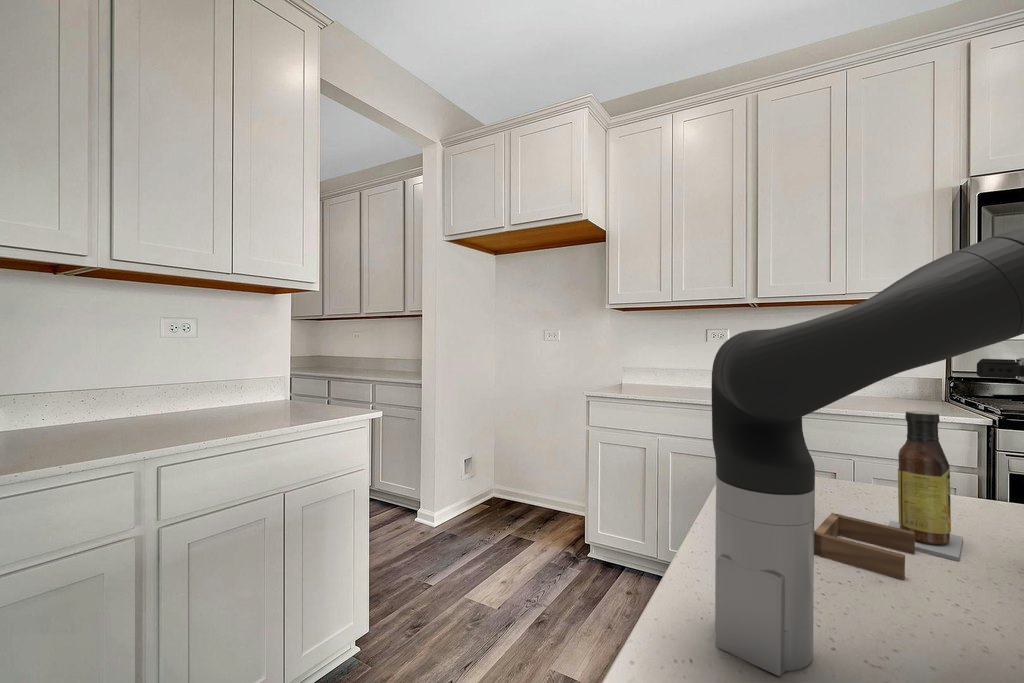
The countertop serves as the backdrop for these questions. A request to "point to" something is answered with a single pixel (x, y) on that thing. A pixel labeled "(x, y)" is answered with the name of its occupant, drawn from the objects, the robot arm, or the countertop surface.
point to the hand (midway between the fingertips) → (977, 367)
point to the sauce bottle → (924, 481)
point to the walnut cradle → (861, 553)
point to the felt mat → (938, 546)
